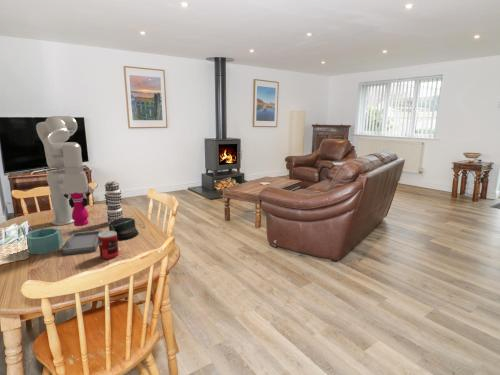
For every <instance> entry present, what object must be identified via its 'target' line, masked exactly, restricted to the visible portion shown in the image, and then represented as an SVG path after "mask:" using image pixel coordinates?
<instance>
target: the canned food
mask: <svg viewBox="0 0 500 375" xmlns="http://www.w3.org/2000/svg"><path fill="white" fill-rule="evenodd" d="M98 242H99V244H98V248H99V256H100V258H101V259H103V260H111V259H115V258H116V257H118V256H119V252H120V251H119V243H118V242H119V241H118V240H117V233H116V232H115V231H109V230H106V231H105V230H103V231H102V232H101V233H99V234H98Z"/></svg>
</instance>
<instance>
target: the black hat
mask: <svg viewBox="0 0 500 375" xmlns="http://www.w3.org/2000/svg"><path fill="white" fill-rule="evenodd" d="M108 228H109V229H108V231H115V232H116V233H117V240H118V242H121V241H122V242H123V241H127V240H132V239H134V238H136V237H138V236H139V229H138V228H137V227H136V219H134V218H133V217H122V218H119V219H117V220H113V221H112V222H111V223H110V224H108Z"/></svg>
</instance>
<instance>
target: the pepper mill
mask: <svg viewBox="0 0 500 375" xmlns="http://www.w3.org/2000/svg"><path fill="white" fill-rule="evenodd" d="M70 195H71V197H72V198H73V199H72V200H73V202H74V207H73V209H72V219H73V220H75V221H74V222H73V226H74V227H83V226H87V225H88V224H89V220H88V218H89V212H88V210H87V209H86V207H85V206H84V202H83V199H84V196H83V193H82V194H80V193H77V192H76V193H74V194H70Z"/></svg>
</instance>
